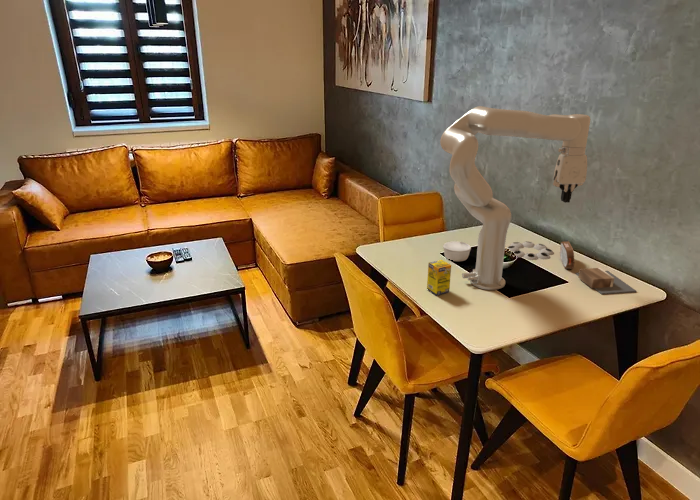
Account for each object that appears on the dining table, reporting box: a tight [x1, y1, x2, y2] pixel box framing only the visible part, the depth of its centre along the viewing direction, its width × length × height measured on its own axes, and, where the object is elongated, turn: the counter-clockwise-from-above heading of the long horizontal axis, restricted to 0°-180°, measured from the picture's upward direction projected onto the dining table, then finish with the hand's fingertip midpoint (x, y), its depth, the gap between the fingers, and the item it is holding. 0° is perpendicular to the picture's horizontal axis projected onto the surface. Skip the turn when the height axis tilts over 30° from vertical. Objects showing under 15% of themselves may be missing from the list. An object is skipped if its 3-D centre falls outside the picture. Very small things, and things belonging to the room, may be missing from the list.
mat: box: [575, 270, 637, 295], centre depth 181 cm, size 13×17×1 cm
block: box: [577, 267, 614, 289], centre depth 180 cm, size 4×9×8 cm
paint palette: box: [506, 241, 555, 261], centre depth 210 cm, size 20×20×2 cm
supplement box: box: [426, 259, 452, 297], centre depth 175 cm, size 6×6×11 cm
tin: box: [559, 240, 575, 270], centre depth 196 cm, size 15×3×8 cm, turn 168°
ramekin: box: [442, 240, 472, 262], centre depth 205 cm, size 11×11×5 cm
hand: (565, 201), depth 178 cm, fingers closed
